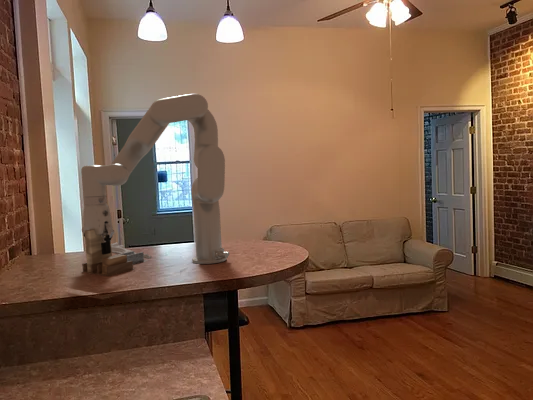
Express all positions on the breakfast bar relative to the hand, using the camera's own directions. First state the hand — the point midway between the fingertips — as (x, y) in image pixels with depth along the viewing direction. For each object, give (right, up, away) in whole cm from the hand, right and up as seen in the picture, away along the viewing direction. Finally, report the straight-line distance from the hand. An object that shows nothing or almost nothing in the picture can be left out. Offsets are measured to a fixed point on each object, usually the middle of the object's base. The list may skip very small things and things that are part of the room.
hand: (99, 252), depth 159 cm
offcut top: (+7, -3, -4) cm, 9 cm away
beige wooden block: (0, -6, 0) cm, 6 cm away
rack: (+4, -7, -2) cm, 8 cm away
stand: (+7, -6, +10) cm, 14 cm away
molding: (-1, -5, +36) cm, 36 cm away
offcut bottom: (+7, -6, -4) cm, 10 cm away
